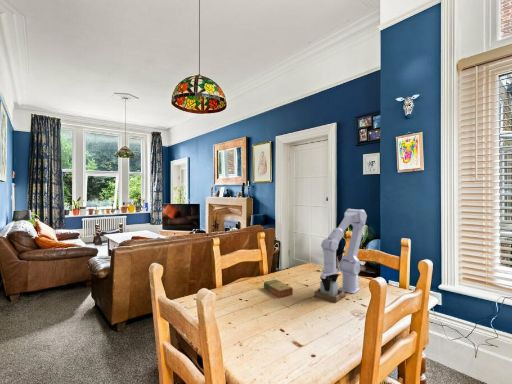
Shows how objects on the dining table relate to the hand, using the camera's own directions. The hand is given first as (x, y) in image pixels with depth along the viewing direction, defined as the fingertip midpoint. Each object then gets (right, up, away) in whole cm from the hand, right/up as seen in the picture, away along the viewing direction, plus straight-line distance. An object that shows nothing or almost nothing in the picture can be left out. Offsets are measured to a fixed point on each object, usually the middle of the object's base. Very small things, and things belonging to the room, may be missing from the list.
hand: (329, 289), depth 139 cm
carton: (-26, -4, +7) cm, 27 cm away
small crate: (0, -2, 0) cm, 2 cm away
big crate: (0, -4, 0) cm, 4 cm away
